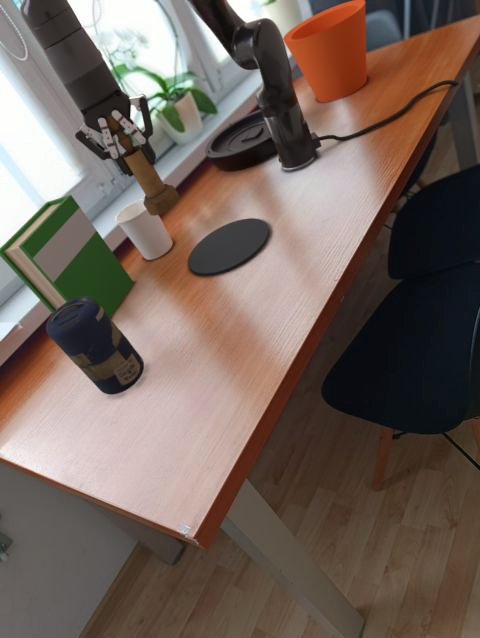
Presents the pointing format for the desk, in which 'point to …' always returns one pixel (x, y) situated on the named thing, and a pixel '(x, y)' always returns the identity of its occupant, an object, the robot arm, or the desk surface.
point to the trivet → (228, 247)
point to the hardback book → (66, 258)
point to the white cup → (144, 230)
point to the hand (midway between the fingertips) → (142, 168)
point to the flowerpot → (332, 50)
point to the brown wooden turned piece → (145, 174)
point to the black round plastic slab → (241, 143)
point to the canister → (95, 345)
